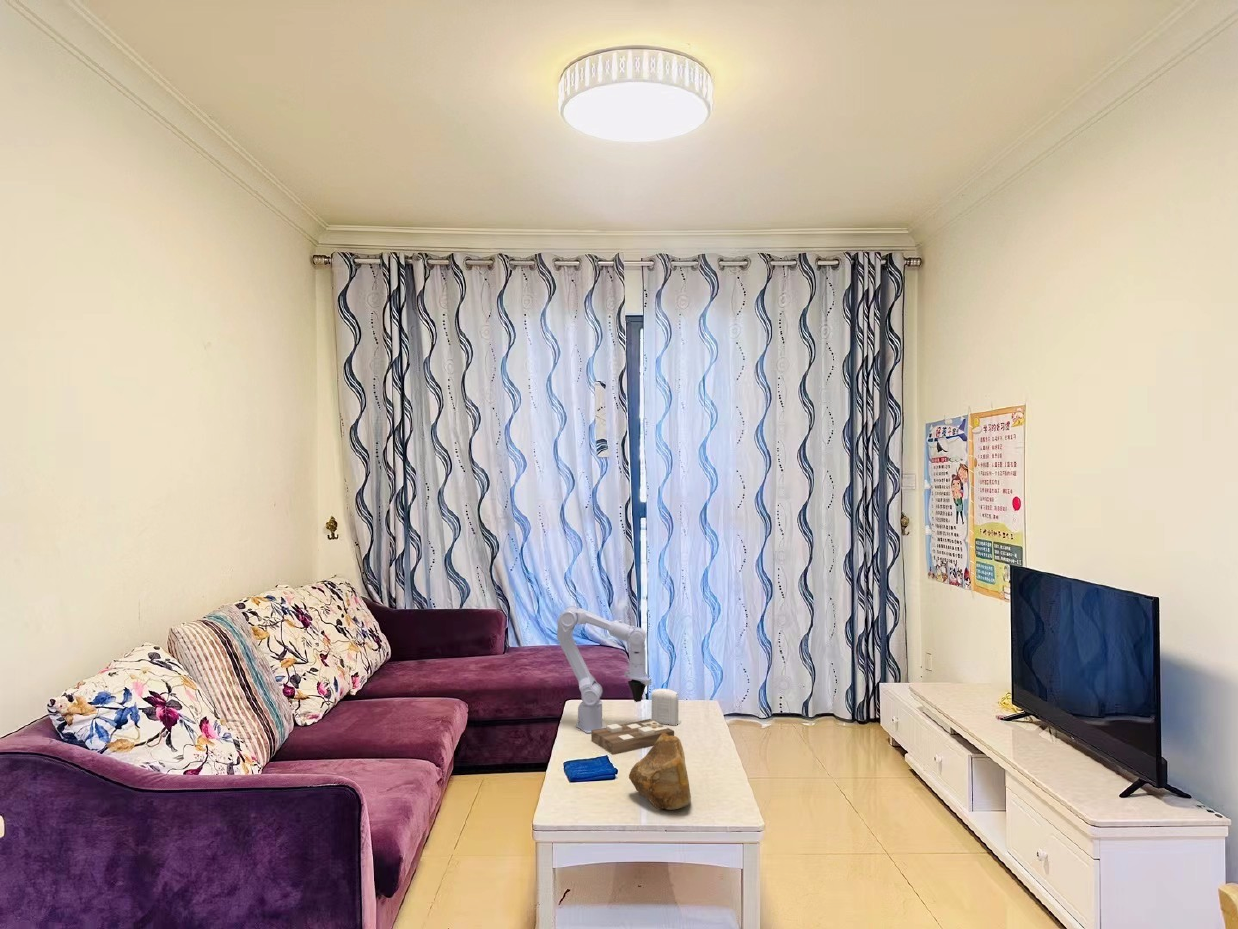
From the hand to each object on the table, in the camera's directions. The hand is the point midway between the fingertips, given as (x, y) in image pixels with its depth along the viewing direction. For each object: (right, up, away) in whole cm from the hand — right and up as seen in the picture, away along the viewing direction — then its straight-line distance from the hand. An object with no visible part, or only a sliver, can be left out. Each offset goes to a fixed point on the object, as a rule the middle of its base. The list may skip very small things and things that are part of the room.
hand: (637, 701), depth 265 cm
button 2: (-4, -8, -17) cm, 19 cm away
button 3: (-1, -8, -6) cm, 10 cm away
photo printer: (+10, -11, +8) cm, 17 cm away
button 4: (+3, -7, -13) cm, 15 cm away
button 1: (-8, -7, -10) cm, 15 cm away
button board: (-2, -10, -11) cm, 15 cm away
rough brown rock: (+5, -10, -55) cm, 56 cm away
